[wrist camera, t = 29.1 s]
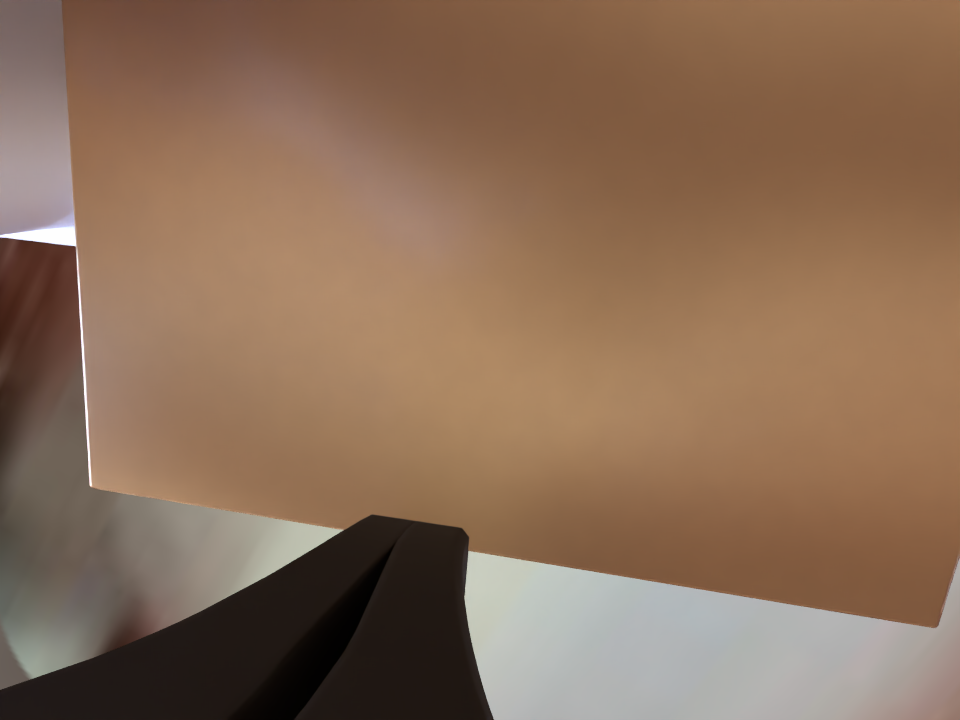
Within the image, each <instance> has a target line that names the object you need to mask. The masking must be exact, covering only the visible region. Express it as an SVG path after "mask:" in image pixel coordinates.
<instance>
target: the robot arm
mask: <svg viewBox="0 0 960 720" xmlns="http://www.w3.org/2000/svg"><path fill="white" fill-rule="evenodd" d="M0 237H5V238H13V239H21V240H29V241H38V242H46V243H54V244H62V245H70V246H76V242H75V225H74V207H73V190H72V173H71V156H70V139H69V121H68V104H67V87H66V70H65V53H64V35H63V18H62V1H61V0H0ZM468 548H469V536H468V535H467V534H466V532H465V531H464V530H463V529H462V528H460V527H453V526H447V525H440V524H433V523H427V522H420V521H413V520H407V519H400V518H393V517H387V516H380V515H373V514H372V515H370V516H368V517H366V518H364V519H362V520H360V521H358V522H357V523H355V524H353V525H352V526H350V527H348V528H347V529H345V530H343V531H342V532H340V533H339V534H337V535H335V536H334V537H332V538H331V539H329V540H327V541H326V542H324V543H322V544H321V545H319V546H318V547H316V548H314V549H313V550H311V551H309V552H307V553H306V554H304V555H302V556H301V557H299V558H297V559H296V560H294V561H292V562H291V563H289V564H287V565H286V566H284V567H282V568H281V569H279V570H277V571H276V572H274V573H272V574H270V575H269V576H267V577H265V578H263V579H261V580H259V581H257V582H256V583H254V584H252V585H250V586H248V587H246V588H244V589H242V590H240V591H239V592H237V593H235V594H233V595H231V596H229V597H227V598H225V599H223V600H222V601H220V602H218V603H216V604H214V605H212V606H210V607H208V608H206V609H205V610H203V611H201V612H199V613H197V614H194V615H192V616H190V617H188V618H186V619H184V620H182V621H180V622H178V623H175V624H173V625H171V626H169V627H167V628H164V629H162V630H160V631H158V632H155V633H153V634H151V635H148V636H146V637H143V638H141V639H139V640H136V641H134V642H131V643H129V644H127V645H124V646H122V647H120V648H117V649H115V650H112V651H110V652H107V653H105V654H102V655H99V656H97V657H94V658H92V659H89V660H86V661H83V662H80V663H77V664H74V665H71V666H68V667H66V668H63V669H60V670H57V671H54V672H51V673H48V674H45V675H42V676H39V677H37V678H34V679H31V680H28V681H25V682H22V683H19V684H16V685H13V686H10V687H8V688H5V689H2V690H0V720H494V719H493V716H492V713H491V711H490V708H489V705H488V702H487V699H486V695H485V692H484V689H483V686H482V682H481V678H480V675H479V671H478V667H477V663H476V659H475V655H474V651H473V647H472V643H471V638H470V633H469V628H468V621H467V614H466V607H465V600H464V595H465V583H466V571H467V560H468Z"/></svg>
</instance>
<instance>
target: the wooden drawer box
mask: <svg viewBox="0 0 960 720" xmlns="http://www.w3.org/2000/svg"><path fill="white" fill-rule="evenodd" d="M61 1H62V18H63V35H64V53H65V70H66V87H67V104H68V121H69V139H70V156H71V173H72V190H73V207H74V225H75V242H76V259H77V276H78V293H79V311H80V328H81V345H82V362H83V379H84V397H85V414H86V431H87V448H88V465H89V483H90V486H91V487H92V488H94V489H100V490H106V491H112V492H118V493H124V494H130V495H136V496H143V497H149V498H155V499H161V500H167V501H173V502H179V503H185V504H191V505H197V506H203V507H209V508H215V509H221V510H227V511H233V512H239V513H245V514H251V515H257V516H263V517H269V518H275V519H281V520H287V521H293V522H299V523H305V524H311V525H317V526H323V527H329V528H335V529H341V530H345V529H347V528H348V527H350V526H352V525H353V524H355V523H357V522H358V521H360V520H362V519H364V518H366V517H368V516H370V515H372V514H373V515H380V516H387V517H393V518H400V519H407V520H413V521H420V522H427V523H433V524H440V525H447V526H453V527H460V528H462V529H463V530H464V531H465V532H466V534H467V535H468V536H469V548H468V551H473V552H479V553H485V554H491V555H497V556H504V557H510V558H516V559H522V560H528V561H534V562H540V563H546V564H552V565H558V566H564V567H570V568H576V569H582V570H588V571H594V572H600V573H606V574H612V575H618V576H624V577H630V578H636V579H642V580H648V581H654V582H660V583H666V584H672V585H678V586H684V587H690V588H696V589H702V590H708V591H714V592H720V593H726V594H732V595H738V596H744V597H750V598H756V599H762V600H768V601H774V602H780V603H786V604H792V605H798V606H804V607H810V608H816V609H822V610H828V611H834V612H840V613H846V614H852V615H859V616H865V617H871V618H877V619H883V620H889V621H895V622H901V623H907V624H913V625H919V626H925V627H931V628H936V627H937V626H938V625H939V621H940V618H941V615H942V612H943V609H944V605H945V602H946V599H947V596H948V592H949V589H950V586H951V583H952V580H953V576H954V573H955V570H956V567H957V564H958V560H959V557H960V0H61Z"/></svg>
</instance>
